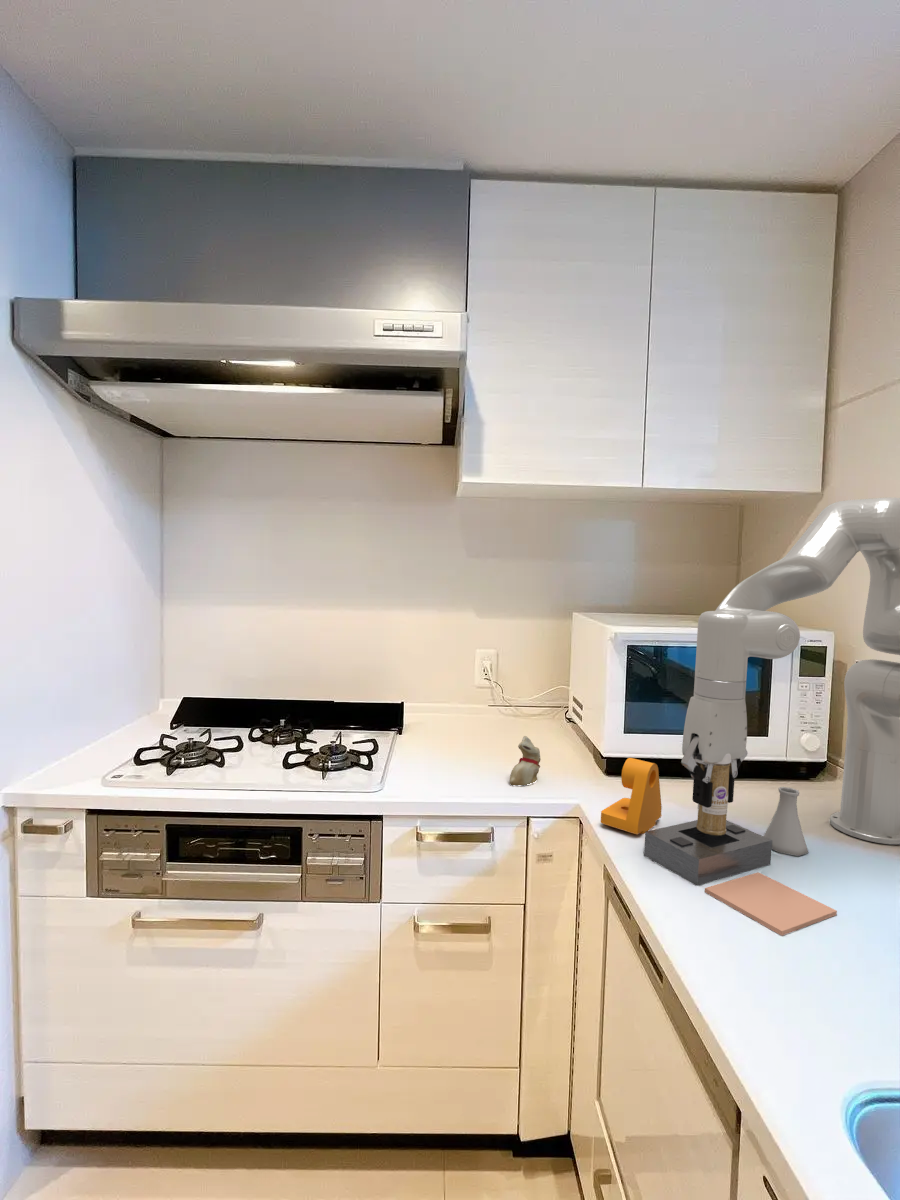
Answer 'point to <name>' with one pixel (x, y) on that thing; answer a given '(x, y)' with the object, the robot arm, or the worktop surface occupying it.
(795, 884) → the worktop surface
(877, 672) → the robot arm
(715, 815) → the sprinkles bottle
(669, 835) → the socket bar
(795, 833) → the flask
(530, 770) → the chocolate bunny
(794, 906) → the coaster
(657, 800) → the bracket
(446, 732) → the worktop surface
